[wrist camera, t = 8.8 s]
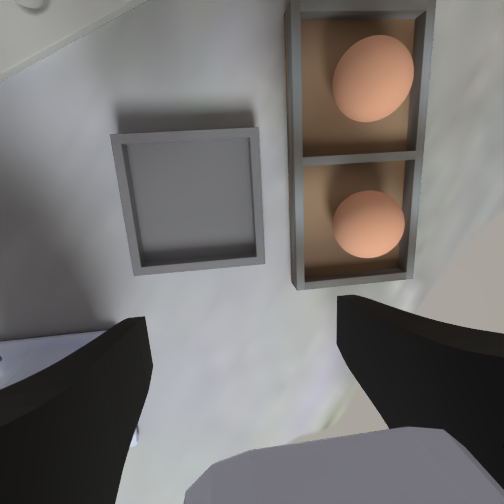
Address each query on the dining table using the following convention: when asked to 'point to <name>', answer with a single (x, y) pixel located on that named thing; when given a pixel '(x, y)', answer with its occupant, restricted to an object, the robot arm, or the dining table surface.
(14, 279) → the dining table surface
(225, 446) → the dining table surface
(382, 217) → the terracotta ball
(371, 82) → the ball
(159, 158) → the shallow grey square tray
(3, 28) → the test tube rack
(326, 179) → the pair tray
